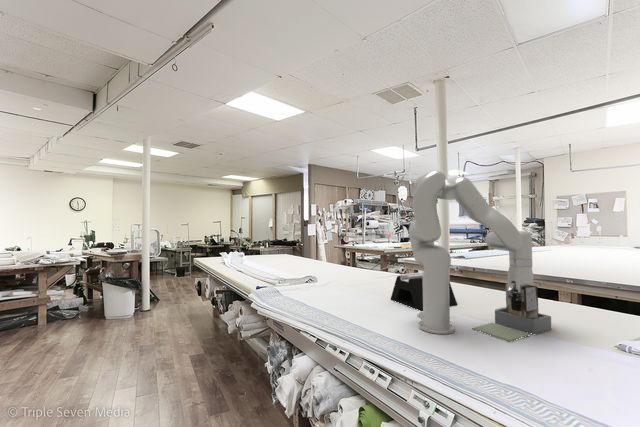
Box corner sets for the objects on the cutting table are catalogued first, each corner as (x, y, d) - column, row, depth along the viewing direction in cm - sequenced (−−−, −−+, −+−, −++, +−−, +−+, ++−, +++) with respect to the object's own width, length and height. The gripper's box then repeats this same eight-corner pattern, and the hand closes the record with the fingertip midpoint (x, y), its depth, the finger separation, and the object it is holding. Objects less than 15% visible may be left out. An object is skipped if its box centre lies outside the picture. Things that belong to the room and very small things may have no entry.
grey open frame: (495, 323, 121) (494, 308, 121) (512, 319, 127) (511, 304, 127) (534, 334, 109) (533, 318, 109) (551, 329, 114) (550, 313, 114)
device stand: (390, 300, 159) (390, 271, 160) (423, 296, 168) (423, 268, 169) (421, 311, 139) (420, 278, 139) (457, 306, 148) (456, 275, 148)
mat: (472, 329, 115) (472, 327, 115) (492, 324, 120) (492, 322, 120) (509, 342, 102) (509, 340, 102) (530, 335, 108) (529, 334, 108)
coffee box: (540, 329, 114) (539, 286, 115) (527, 331, 112) (526, 287, 113) (517, 321, 123) (516, 281, 123) (505, 323, 121) (504, 283, 121)
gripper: (523, 260, 126) (524, 303, 125) (497, 263, 118) (498, 309, 117) (543, 262, 119) (545, 308, 118) (517, 265, 111) (518, 314, 110)
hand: (522, 308), depth 118 cm, fingers closed on coffee box, 7 cm apart
